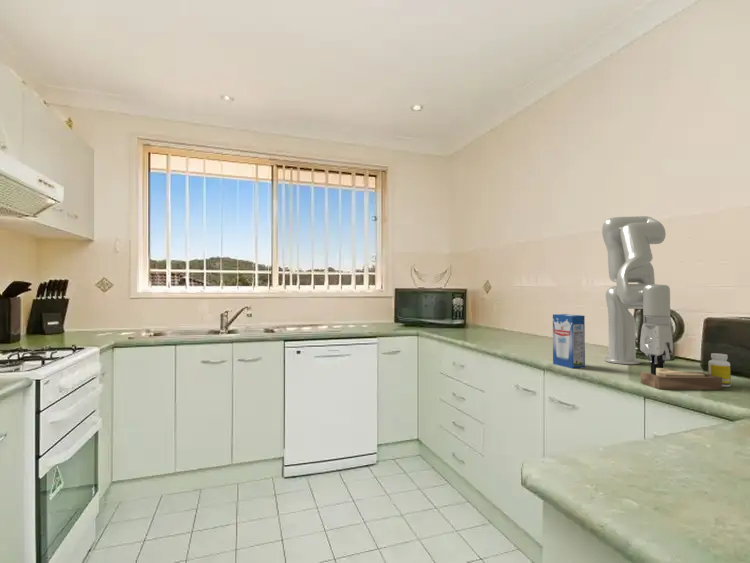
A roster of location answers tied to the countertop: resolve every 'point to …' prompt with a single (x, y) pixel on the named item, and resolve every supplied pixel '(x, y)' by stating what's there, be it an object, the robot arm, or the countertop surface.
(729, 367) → the supplement bottle
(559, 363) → the milk carton
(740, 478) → the countertop surface
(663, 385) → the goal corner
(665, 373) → the t block
